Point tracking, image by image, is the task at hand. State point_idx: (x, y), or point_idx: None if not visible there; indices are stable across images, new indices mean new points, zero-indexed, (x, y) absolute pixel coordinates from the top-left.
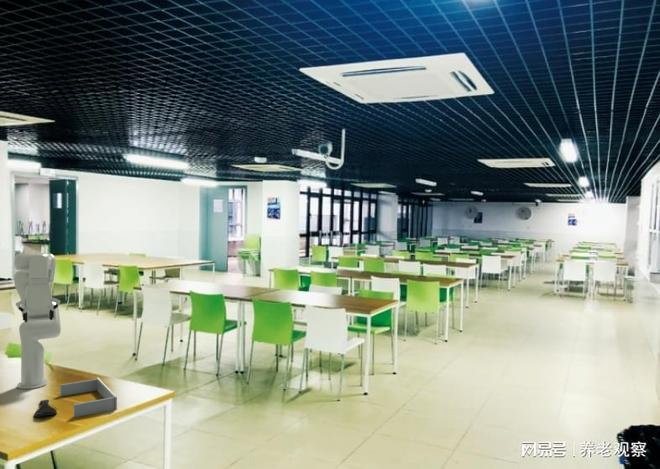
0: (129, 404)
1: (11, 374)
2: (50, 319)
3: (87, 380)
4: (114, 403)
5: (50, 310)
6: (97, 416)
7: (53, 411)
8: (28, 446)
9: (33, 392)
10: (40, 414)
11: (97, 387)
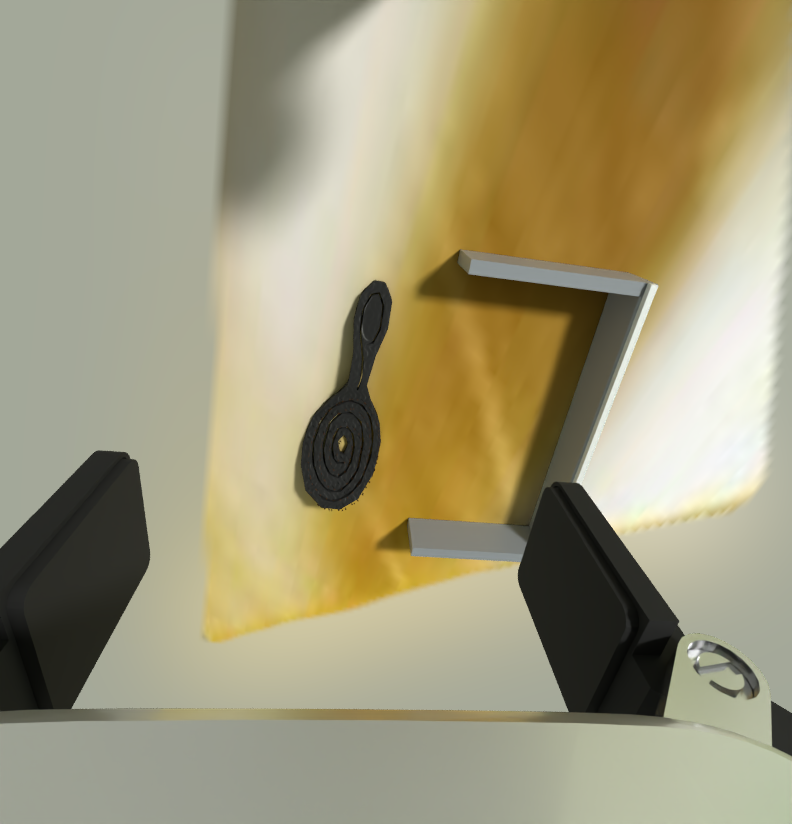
0: None
1: None
2: (519, 582)
3: (601, 279)
4: None
5: (618, 699)
6: None
7: (367, 452)
8: (254, 631)
9: (373, 75)
10: (313, 498)
11: (614, 305)
